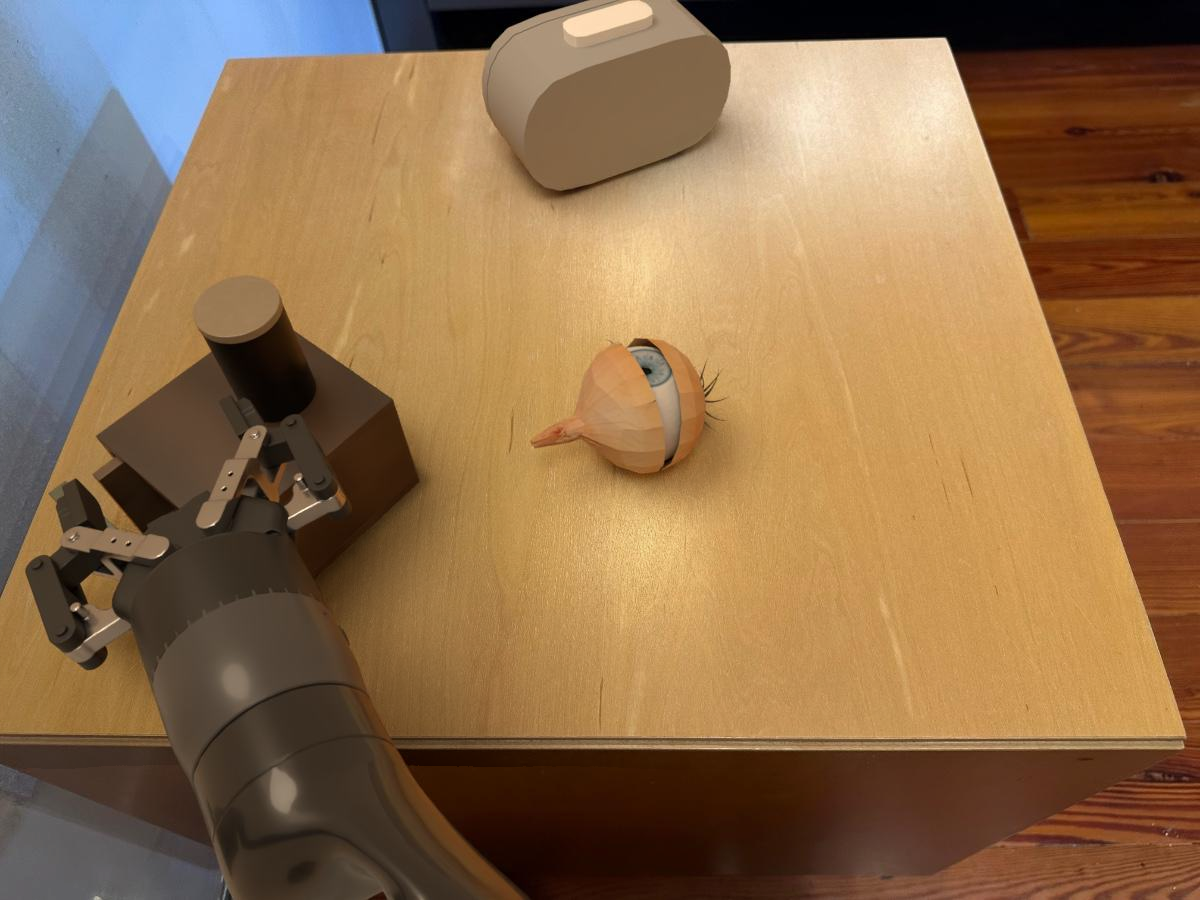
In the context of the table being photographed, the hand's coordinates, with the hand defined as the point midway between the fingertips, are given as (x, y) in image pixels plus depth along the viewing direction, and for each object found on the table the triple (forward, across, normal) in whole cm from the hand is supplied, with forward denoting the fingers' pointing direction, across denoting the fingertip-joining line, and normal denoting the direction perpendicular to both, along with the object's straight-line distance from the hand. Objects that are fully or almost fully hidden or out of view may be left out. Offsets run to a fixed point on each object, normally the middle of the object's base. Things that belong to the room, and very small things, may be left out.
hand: (157, 449), depth 48 cm
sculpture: (-2, -26, +19) cm, 32 cm away
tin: (+7, -7, +6) cm, 12 cm away
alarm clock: (+28, -45, +15) cm, 55 cm away
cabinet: (+8, -4, +15) cm, 18 cm away
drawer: (+6, +3, +14) cm, 16 cm away
